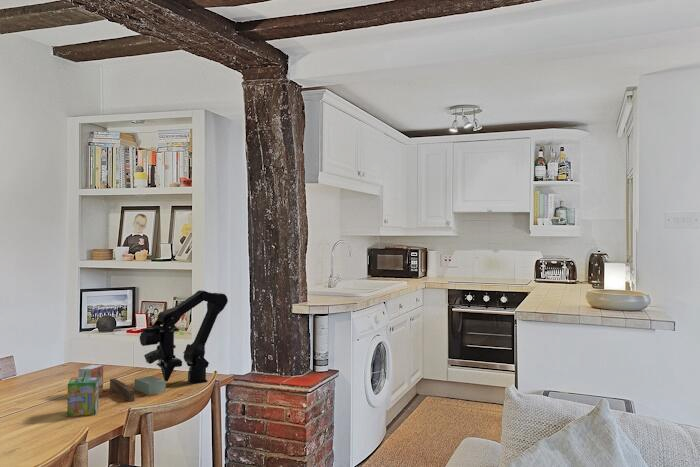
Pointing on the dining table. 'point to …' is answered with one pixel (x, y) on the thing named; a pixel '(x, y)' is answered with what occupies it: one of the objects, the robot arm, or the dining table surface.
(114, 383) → the walnut board
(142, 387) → the sage block
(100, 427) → the dining table surface
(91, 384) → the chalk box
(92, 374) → the small box
